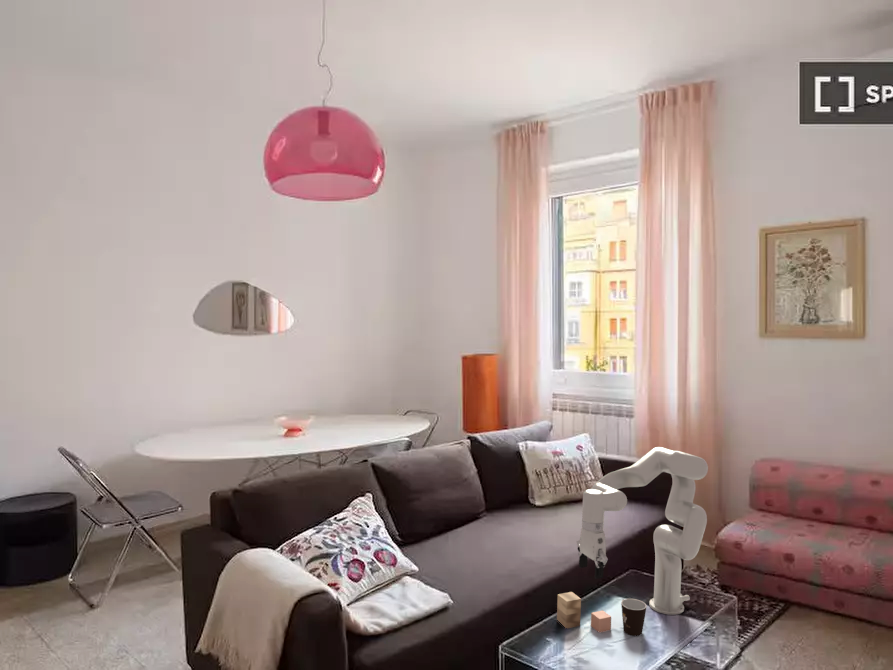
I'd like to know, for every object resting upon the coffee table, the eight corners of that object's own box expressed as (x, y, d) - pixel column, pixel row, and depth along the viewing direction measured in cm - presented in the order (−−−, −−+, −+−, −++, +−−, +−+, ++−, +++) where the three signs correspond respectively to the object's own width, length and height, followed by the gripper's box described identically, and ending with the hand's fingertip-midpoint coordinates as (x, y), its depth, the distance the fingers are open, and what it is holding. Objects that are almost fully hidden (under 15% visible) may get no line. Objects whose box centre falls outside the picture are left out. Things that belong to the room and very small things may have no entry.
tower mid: (571, 604, 245) (571, 591, 245) (580, 612, 240) (581, 598, 240) (557, 607, 243) (557, 594, 243) (566, 615, 238) (566, 601, 237)
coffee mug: (646, 639, 232) (647, 611, 231) (620, 636, 233) (621, 608, 233) (643, 623, 243) (644, 596, 242) (619, 620, 245) (620, 593, 244)
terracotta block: (602, 623, 242) (602, 610, 242) (610, 630, 237) (611, 616, 237) (590, 626, 240) (591, 612, 240) (599, 632, 236) (599, 619, 235)
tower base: (570, 618, 246) (571, 604, 245) (580, 625, 240) (580, 612, 240) (556, 621, 243) (557, 607, 243) (565, 628, 238) (566, 615, 238)
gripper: (616, 532, 229) (614, 580, 230) (587, 516, 245) (585, 561, 246) (598, 534, 226) (596, 584, 228) (570, 518, 242) (568, 564, 244)
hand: (590, 572), depth 237 cm, fingers open, 9 cm apart
